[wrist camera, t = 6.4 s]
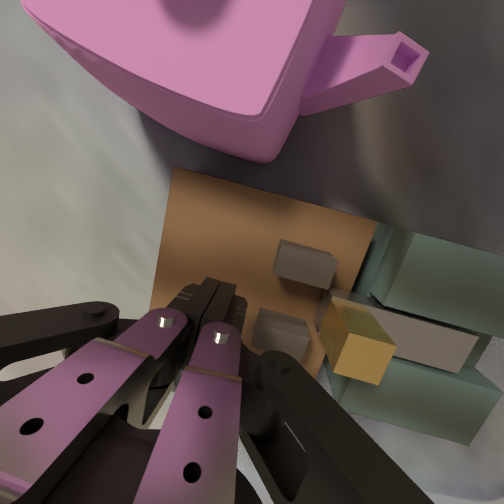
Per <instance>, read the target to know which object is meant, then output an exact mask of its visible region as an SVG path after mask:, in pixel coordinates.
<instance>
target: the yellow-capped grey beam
mask: <svg viewBox="0 0 504 504" xmlns="http://www.w3.org/2000/svg"><path fill="white" fill-rule="evenodd" d="M313 321H314V324H315V327H316V330H317V333H318V334H319V335H320V336H321V339H322V342H323V345H324V347H325V350H326V353H327V356H328V359H329V362H330V365H331V368H332V371H333V373H336V374H340V375H343V376H347V377H350V378H354V379H358V380H361V381H365V382H368V383H372V384H375V385H379V383H380V381H381V379H382V377H383V374H384V372H385V370H386V368H387V366H388V364H389V362H390V360H391V358H392V356H397V357H400V358H404V359H408V360H411V361H415V362H418V363H422V364H425V365H429V366H432V367H436V368H440V369H443V370H447V371H450V372H454V373H457V374H458V373H459V371H460V369H461V367H462V366H463V364H464V362H465V361H466V359H467V357H468V355H469V354H470V352H471V350H472V348H473V347H474V345H475V343H476V342H477V340H478V338H479V336H477V335H476V334H474V333H473V332H471V331H470V330H469V329H467V328H463V327H460V326H456V325H453V324H449V323H445V322H442V321H438V320H435V319H431V318H427V317H424V316H420V315H417V314H413V313H409V312H406V311H402V310H399V309H395V308H391V307H388V306H384V305H383V304H382V303H381V302H380V301H379V300H378V299H375V298H371V297H368V296H364V295H360V294H357V293H353V292H350V291H346V290H343V289H339V288H335V287H332V286H329V289H328V290H327V289H324V292H323V295H322V297H321V300H320V303H319V305H318V308H317V311H316V314H315V316H314V319H313Z"/></svg>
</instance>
